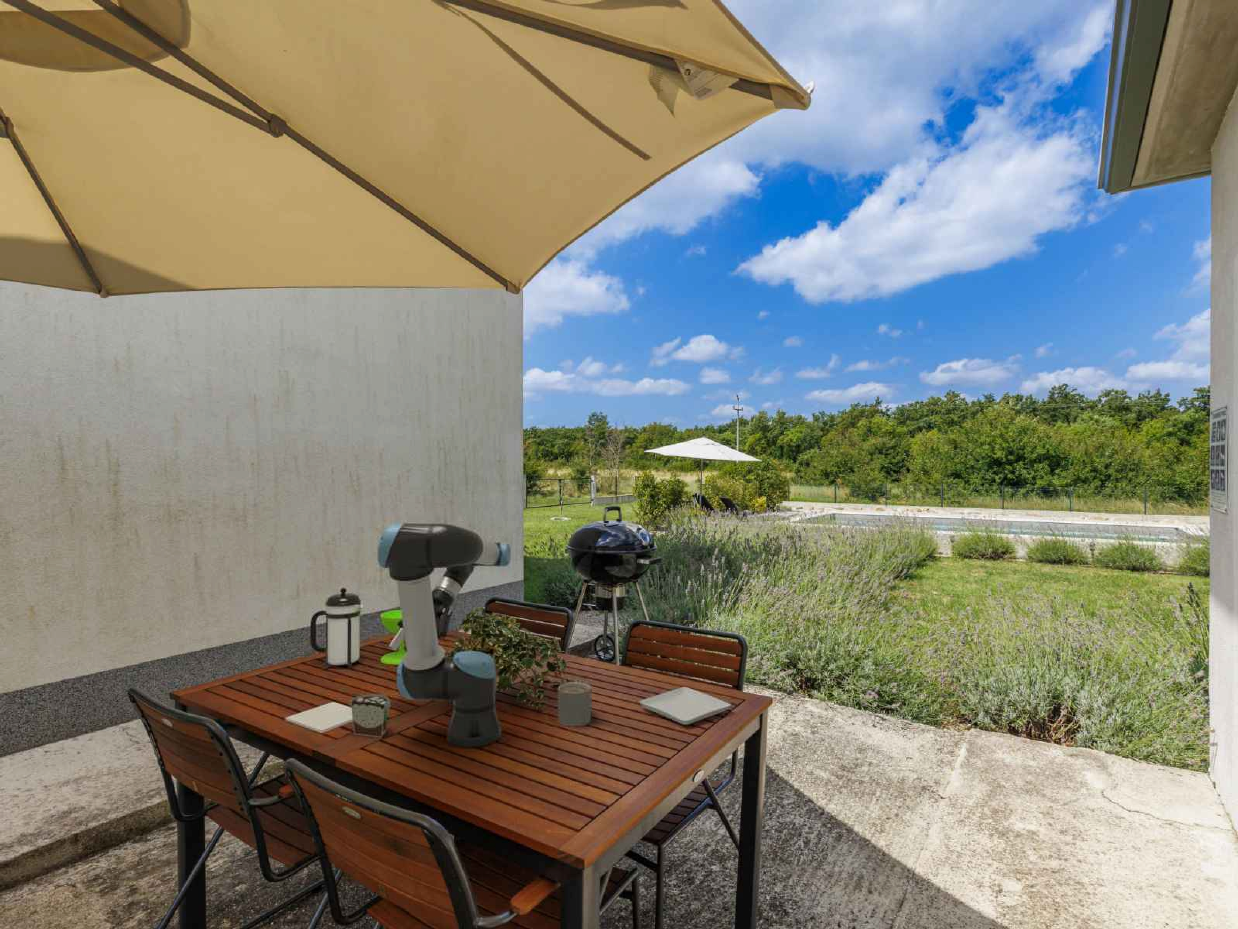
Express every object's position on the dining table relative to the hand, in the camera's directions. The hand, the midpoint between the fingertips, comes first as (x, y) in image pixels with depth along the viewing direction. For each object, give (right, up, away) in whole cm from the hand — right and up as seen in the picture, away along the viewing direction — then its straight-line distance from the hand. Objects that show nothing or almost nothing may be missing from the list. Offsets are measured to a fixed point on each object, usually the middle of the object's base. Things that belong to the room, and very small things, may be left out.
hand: (406, 651), depth 200 cm
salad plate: (+86, -21, +6) cm, 89 cm away
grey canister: (+52, -21, 0) cm, 56 cm away
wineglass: (-23, -21, +63) cm, 70 cm away
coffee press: (-44, -21, +54) cm, 72 cm away
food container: (-6, -21, -10) cm, 24 cm away
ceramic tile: (-24, -20, 0) cm, 32 cm away
